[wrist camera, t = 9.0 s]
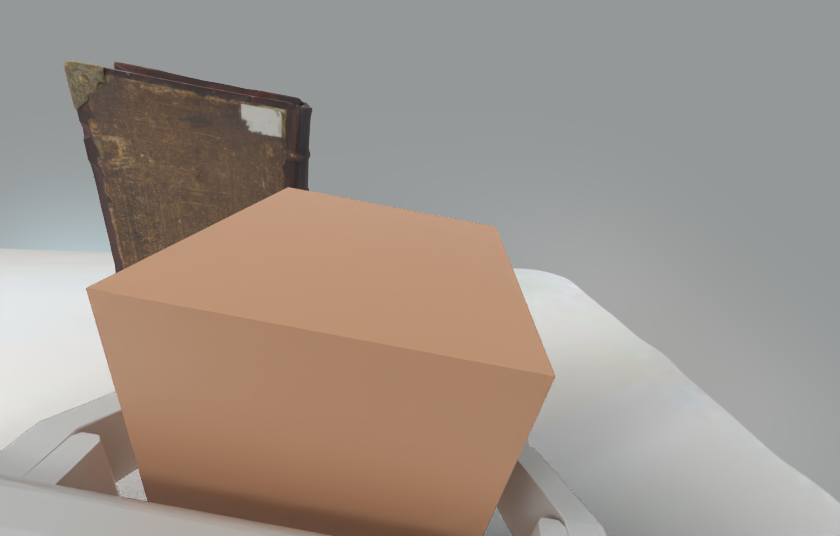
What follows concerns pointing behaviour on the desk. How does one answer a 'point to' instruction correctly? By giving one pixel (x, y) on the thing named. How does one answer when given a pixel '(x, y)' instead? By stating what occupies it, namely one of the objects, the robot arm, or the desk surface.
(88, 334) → the desk surface
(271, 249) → the block
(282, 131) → the book
